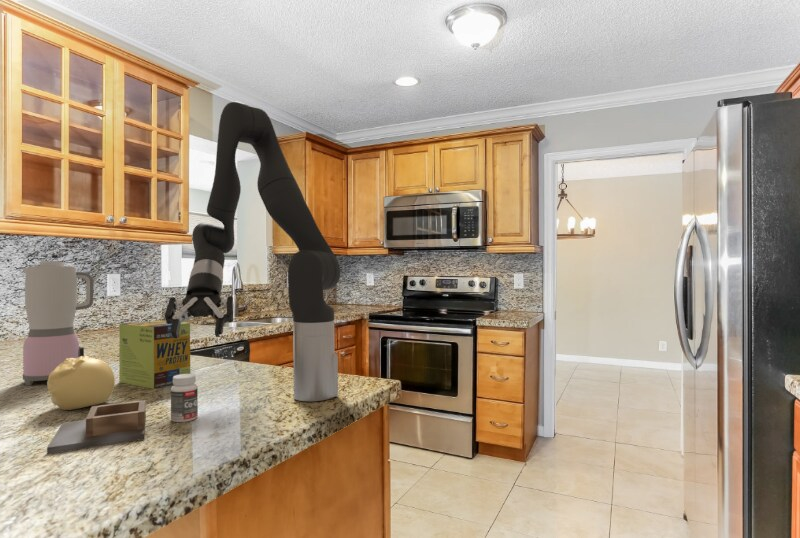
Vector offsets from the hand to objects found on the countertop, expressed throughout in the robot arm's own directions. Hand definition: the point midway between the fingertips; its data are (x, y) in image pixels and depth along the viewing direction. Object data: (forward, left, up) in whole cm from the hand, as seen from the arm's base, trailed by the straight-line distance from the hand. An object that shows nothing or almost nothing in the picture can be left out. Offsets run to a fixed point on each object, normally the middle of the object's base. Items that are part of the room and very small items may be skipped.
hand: (196, 335), depth 102 cm
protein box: (+8, -28, -15) cm, 33 cm away
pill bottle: (+3, +11, -15) cm, 19 cm away
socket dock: (+16, +13, -15) cm, 26 cm away
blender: (+31, -44, -15) cm, 56 cm away
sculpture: (+22, -10, -15) cm, 28 cm away
